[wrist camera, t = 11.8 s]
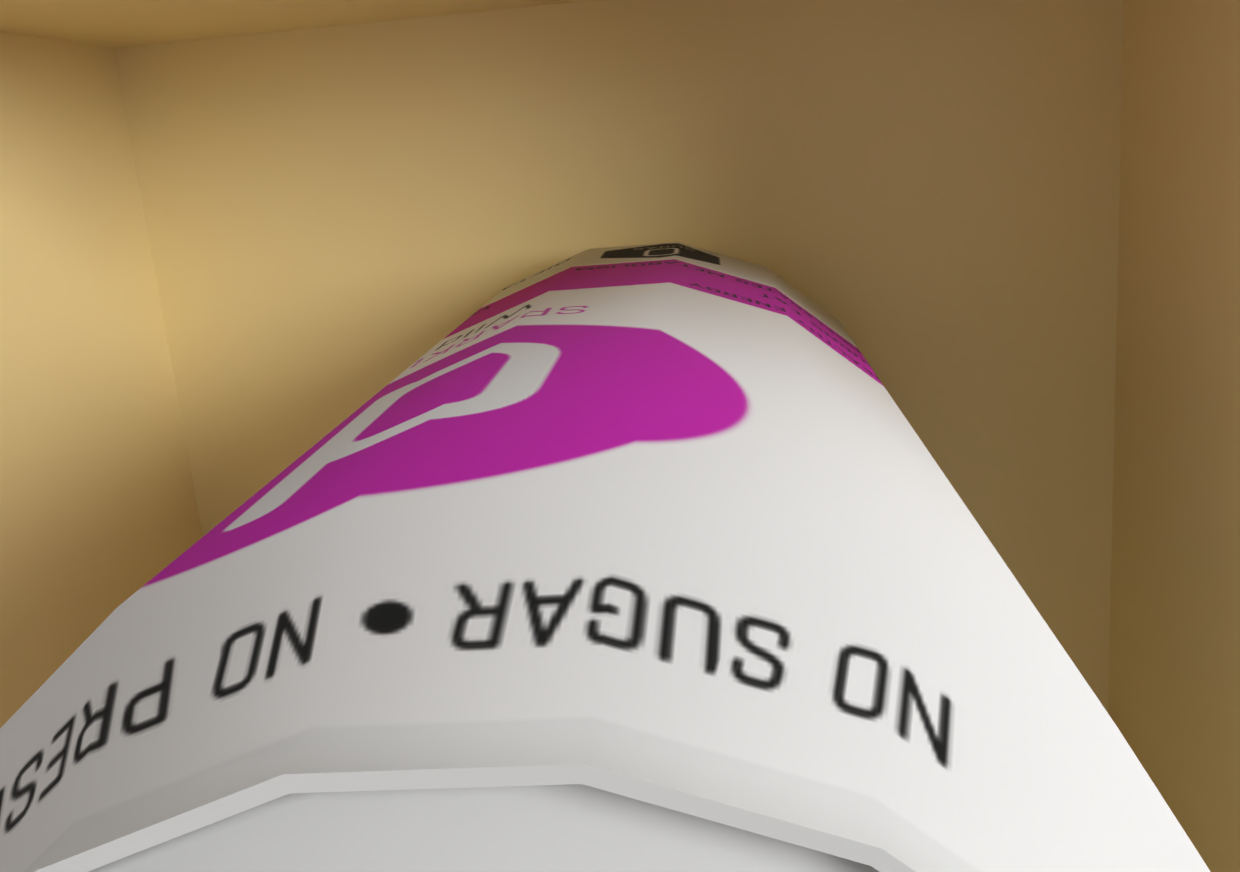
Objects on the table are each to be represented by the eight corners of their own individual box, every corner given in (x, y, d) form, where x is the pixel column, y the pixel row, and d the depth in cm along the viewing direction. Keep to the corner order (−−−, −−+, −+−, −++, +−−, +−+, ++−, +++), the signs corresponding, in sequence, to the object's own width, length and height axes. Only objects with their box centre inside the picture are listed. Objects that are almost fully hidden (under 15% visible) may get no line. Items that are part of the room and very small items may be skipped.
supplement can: (338, 360, 20) (-661, 1007, 5) (785, 155, 18) (1088, 272, 4) (541, 752, 21) (204, 2050, 7) (964, 591, 20) (1640, 1802, 6)
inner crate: (87, 11, 19) (-327, -73, 12) (1157, -98, 18) (1500, -282, 10) (253, 904, 24) (29, 1275, 16) (1129, 884, 22) (1354, 1289, 14)
